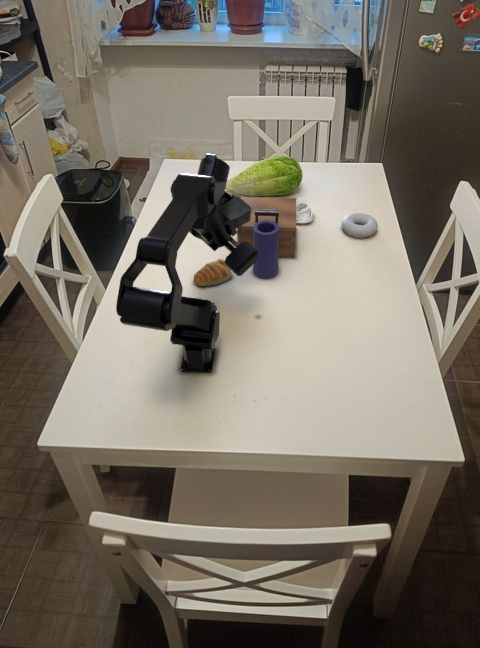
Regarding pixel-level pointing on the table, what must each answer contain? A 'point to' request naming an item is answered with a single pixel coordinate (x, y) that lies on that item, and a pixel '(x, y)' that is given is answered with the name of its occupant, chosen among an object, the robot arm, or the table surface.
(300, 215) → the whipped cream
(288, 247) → the bread box
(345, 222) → the donut
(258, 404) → the table surface
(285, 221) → the bread box lid
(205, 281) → the pastry
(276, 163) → the lettuce
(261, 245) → the purple hollow cylinder
